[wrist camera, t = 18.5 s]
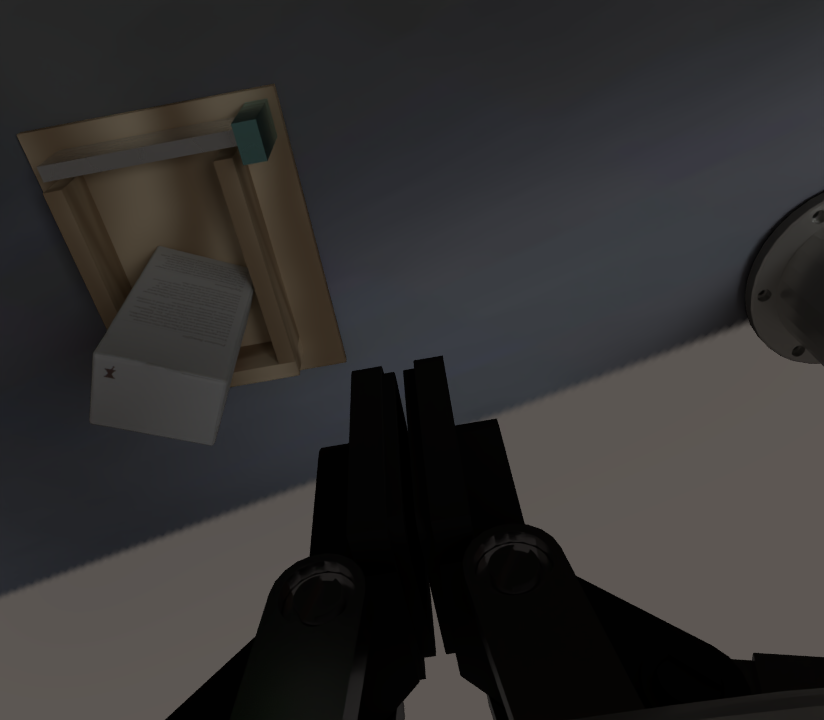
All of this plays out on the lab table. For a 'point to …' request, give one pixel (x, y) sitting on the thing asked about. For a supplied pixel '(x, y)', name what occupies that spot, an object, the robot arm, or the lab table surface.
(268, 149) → the gate
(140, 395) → the skincare box
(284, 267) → the rest
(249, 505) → the lab table surface
